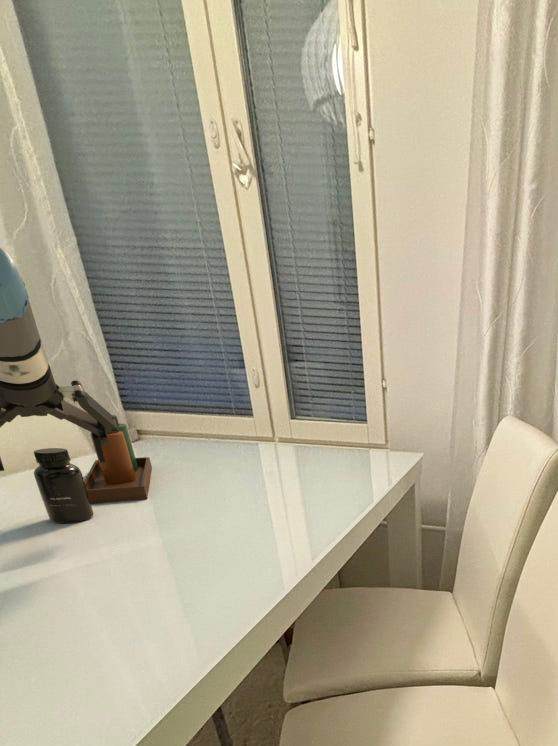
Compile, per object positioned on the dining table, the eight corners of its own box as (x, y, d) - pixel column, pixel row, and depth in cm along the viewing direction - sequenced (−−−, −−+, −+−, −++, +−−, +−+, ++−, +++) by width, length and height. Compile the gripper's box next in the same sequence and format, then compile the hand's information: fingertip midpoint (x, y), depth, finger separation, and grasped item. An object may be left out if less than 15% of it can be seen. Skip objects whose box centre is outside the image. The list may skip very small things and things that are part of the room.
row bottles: (103, 484, 118) (85, 425, 112) (110, 468, 130) (94, 414, 124) (135, 482, 120) (119, 424, 114) (139, 466, 133) (124, 413, 127)
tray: (82, 504, 107) (78, 491, 106) (98, 471, 130) (95, 460, 129) (147, 499, 112) (143, 486, 110) (152, 467, 134) (149, 457, 133)
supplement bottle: (61, 526, 96) (35, 456, 90) (43, 519, 99) (17, 450, 93) (102, 517, 101) (80, 450, 95) (84, 510, 104) (61, 444, 98)
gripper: (-110, 390, 65) (-42, 488, 83) (131, 384, 77) (144, 470, 95) (-125, 337, 66) (-55, 446, 84) (115, 340, 78) (131, 434, 96)
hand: (51, 459), depth 89 cm, fingers open, 13 cm apart
